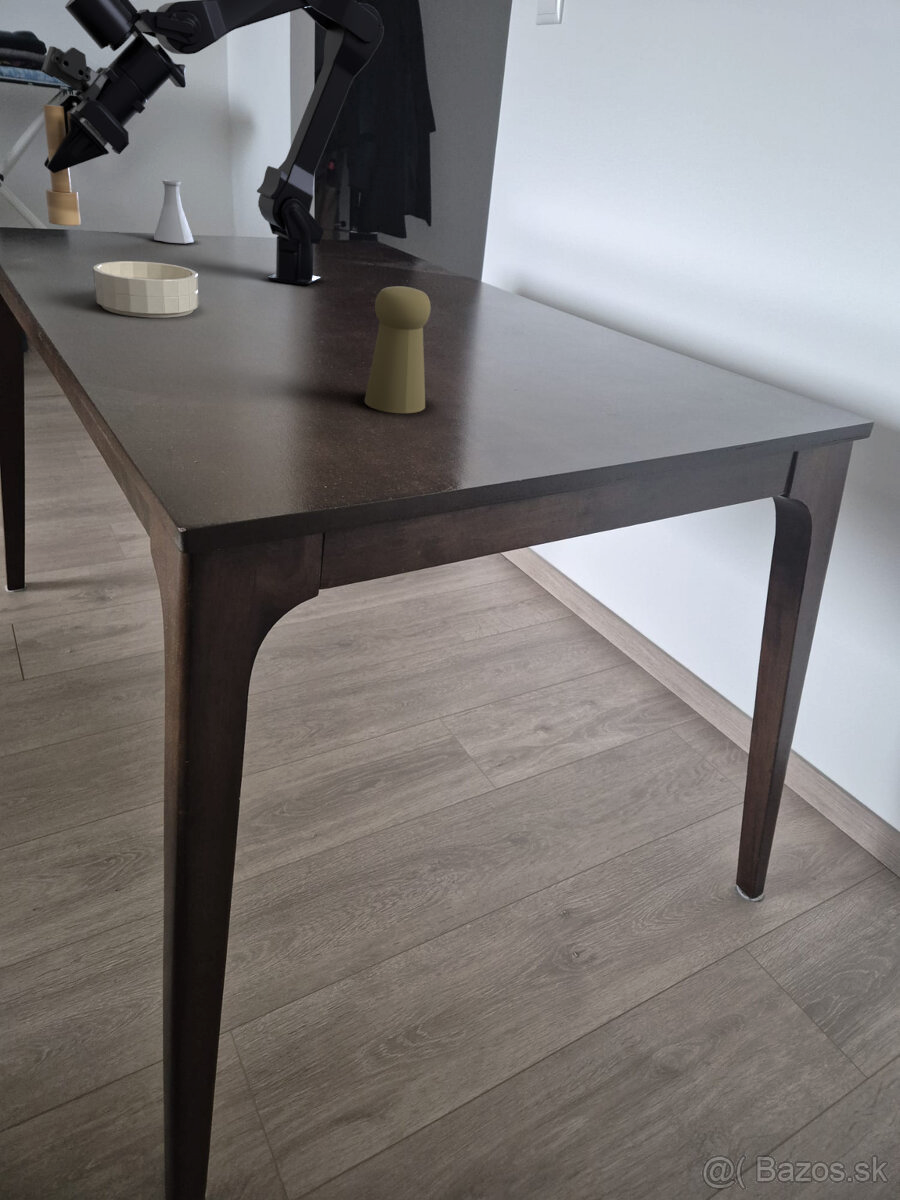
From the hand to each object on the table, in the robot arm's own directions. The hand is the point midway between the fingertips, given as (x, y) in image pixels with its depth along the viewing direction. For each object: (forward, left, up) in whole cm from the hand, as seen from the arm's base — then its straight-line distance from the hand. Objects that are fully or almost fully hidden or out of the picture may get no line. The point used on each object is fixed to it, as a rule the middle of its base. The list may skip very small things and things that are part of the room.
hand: (48, 168), depth 114 cm
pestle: (-1, +1, -7) cm, 7 cm away
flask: (-42, -4, -14) cm, 44 cm away
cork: (+33, +56, -14) cm, 67 cm away
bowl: (+10, +18, -13) cm, 25 cm away
